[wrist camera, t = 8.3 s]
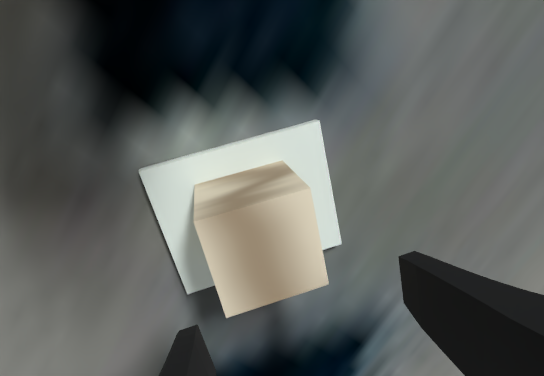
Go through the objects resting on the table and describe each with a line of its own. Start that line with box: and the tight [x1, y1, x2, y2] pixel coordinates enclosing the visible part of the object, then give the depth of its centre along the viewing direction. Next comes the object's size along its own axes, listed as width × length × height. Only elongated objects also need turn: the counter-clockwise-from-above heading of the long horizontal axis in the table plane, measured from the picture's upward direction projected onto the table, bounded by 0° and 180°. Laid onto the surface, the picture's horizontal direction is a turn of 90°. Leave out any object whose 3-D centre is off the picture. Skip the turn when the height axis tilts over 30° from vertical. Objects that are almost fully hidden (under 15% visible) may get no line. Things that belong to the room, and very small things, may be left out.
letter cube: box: [193, 160, 329, 318], centre depth 17 cm, size 5×5×5 cm
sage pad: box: [138, 120, 342, 294], centre depth 19 cm, size 10×8×1 cm
